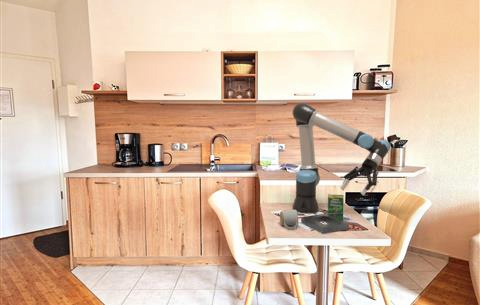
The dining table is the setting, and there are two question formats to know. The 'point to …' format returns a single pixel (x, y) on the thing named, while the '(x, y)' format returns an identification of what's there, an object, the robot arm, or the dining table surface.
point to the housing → (325, 228)
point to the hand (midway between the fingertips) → (351, 191)
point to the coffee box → (335, 206)
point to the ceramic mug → (289, 219)
